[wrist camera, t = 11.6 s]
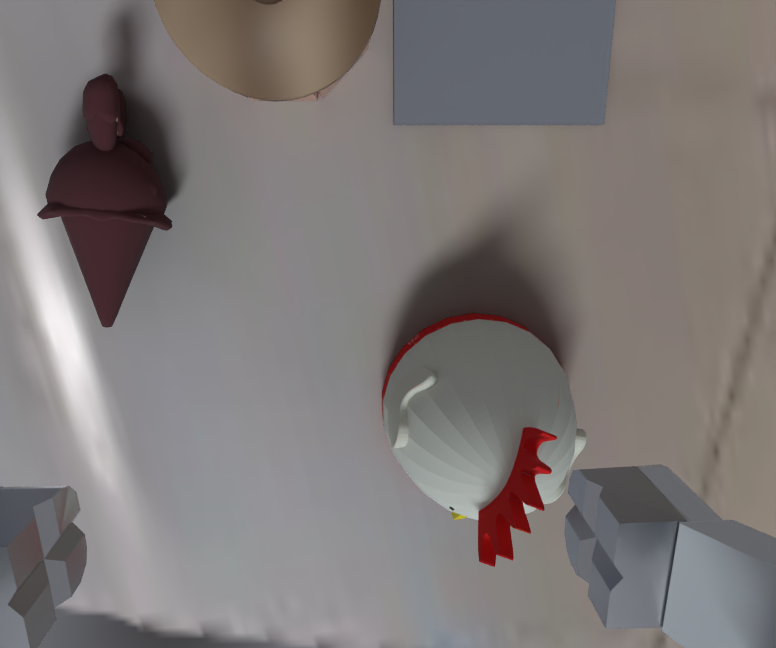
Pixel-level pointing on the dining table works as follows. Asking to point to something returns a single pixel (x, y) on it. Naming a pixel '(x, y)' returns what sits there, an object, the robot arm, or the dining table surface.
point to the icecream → (107, 198)
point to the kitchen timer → (482, 423)
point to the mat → (501, 61)
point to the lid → (271, 42)
